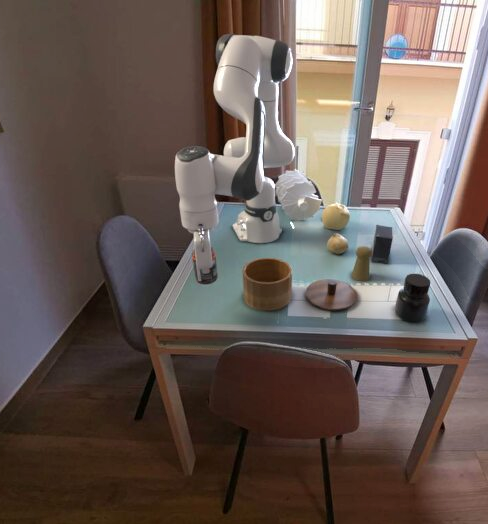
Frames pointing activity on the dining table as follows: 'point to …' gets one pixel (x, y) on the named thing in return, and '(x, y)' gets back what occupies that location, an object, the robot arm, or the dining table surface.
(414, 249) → the dining table surface
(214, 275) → the supplement bottle
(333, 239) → the onion
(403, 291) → the ink bottle
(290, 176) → the spiral staircase
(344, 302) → the lid
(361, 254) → the tan pawn
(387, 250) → the small box
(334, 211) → the beige round lump
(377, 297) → the dining table surface
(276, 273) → the round wooden box
